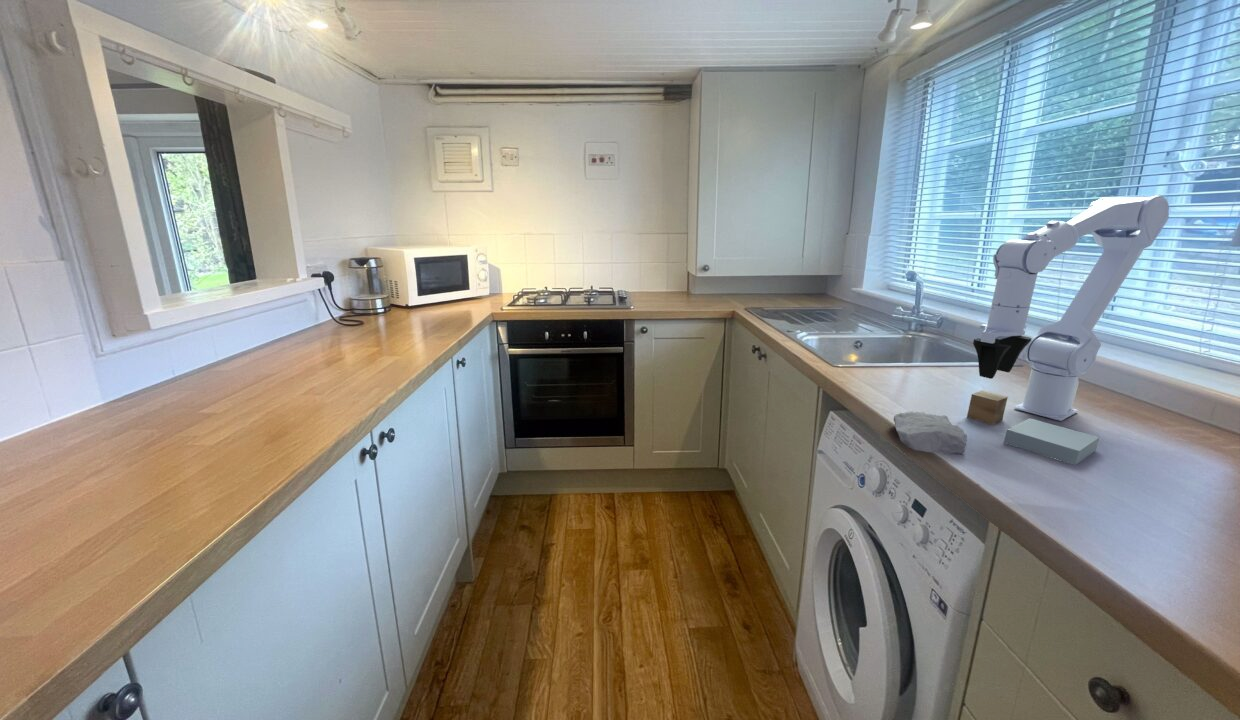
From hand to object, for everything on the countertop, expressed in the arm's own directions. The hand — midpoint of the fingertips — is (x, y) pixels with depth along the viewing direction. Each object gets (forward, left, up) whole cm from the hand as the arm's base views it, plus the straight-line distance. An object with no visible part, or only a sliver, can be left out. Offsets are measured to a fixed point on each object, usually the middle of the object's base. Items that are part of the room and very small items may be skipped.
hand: (994, 374), depth 98 cm
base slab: (+5, +12, -10) cm, 16 cm away
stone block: (+21, -2, -10) cm, 23 cm away
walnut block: (0, 0, -10) cm, 10 cm away
